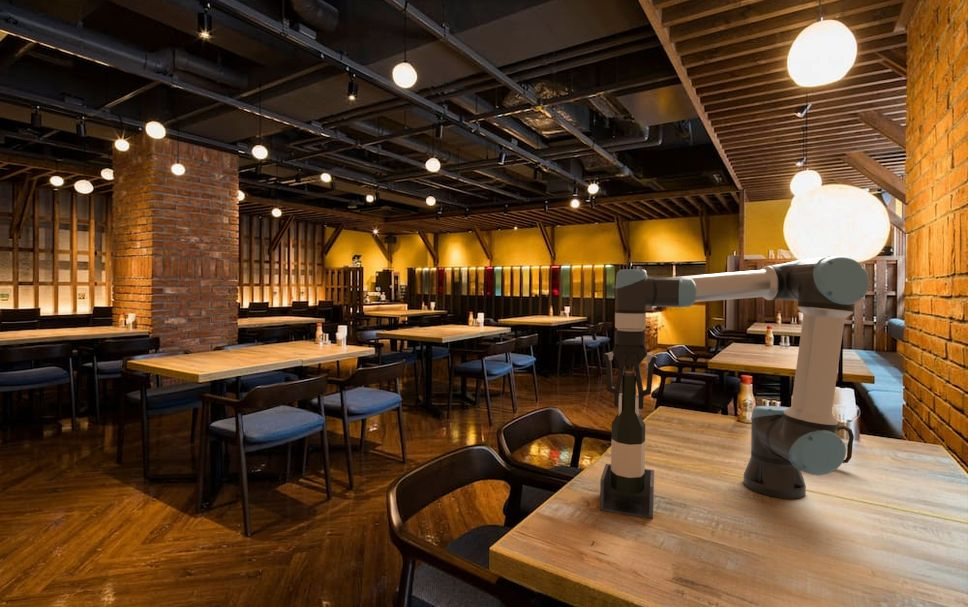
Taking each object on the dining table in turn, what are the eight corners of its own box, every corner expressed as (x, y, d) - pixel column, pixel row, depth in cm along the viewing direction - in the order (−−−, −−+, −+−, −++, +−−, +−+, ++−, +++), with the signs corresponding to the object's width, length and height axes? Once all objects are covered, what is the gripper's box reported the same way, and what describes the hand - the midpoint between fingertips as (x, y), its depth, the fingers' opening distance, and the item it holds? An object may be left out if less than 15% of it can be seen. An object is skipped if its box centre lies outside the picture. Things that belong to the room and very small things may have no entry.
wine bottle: (646, 495, 119) (648, 375, 118) (611, 492, 121) (613, 374, 120) (642, 482, 128) (644, 370, 127) (609, 479, 129) (611, 368, 128)
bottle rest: (653, 499, 128) (654, 470, 128) (652, 519, 117) (653, 486, 117) (605, 492, 132) (605, 463, 132) (600, 510, 122) (600, 479, 121)
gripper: (664, 329, 124) (662, 420, 124) (599, 327, 129) (597, 413, 130) (664, 332, 117) (662, 427, 117) (595, 329, 122) (594, 420, 123)
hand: (628, 420), depth 124 cm, fingers closed on wine bottle, 3 cm apart
